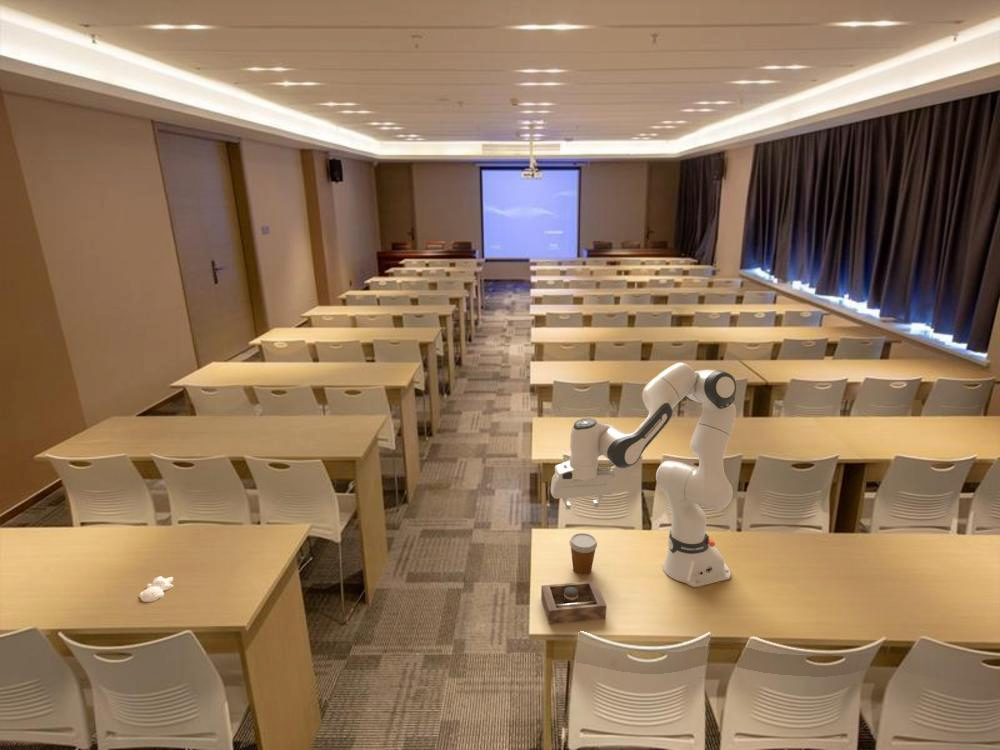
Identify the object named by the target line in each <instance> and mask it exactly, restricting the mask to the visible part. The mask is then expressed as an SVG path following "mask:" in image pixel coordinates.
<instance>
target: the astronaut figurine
mask: <svg viewBox="0 0 1000 750" xmlns="http://www.w3.org/2000/svg"><path fill="white" fill-rule="evenodd" d="M173 581H174V577H173V576H169V577H166V578H165V577H163V576H161V575H160V576H157V577H155V578H153V579H152V582H151V583H148V584H147V585H146V589H144V590H143V591H141V592H140V593H139V594H138V595H139V596H138V597H139V598H140V600H141V601H142V602H145V603H150V602H154V601H157V600H159V599H163V598H164V597H165V593H164V591H167V590H170V589H172V588H174V585H173V584H172V583H173Z"/></svg>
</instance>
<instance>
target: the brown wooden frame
mask: <svg viewBox="0 0 1000 750" xmlns="http://www.w3.org/2000/svg"><path fill="white" fill-rule="evenodd" d="M567 587H574V588H576V589H577V590H578V598H585V597H586V598H587V597H588V598H589V602H590V601H595V602H596V604H593V605H582V606H572V607H561V608H556V605H557V604H556V602H555V600H562V599H563V600H564V589H565V588H567ZM540 594H541V596H540V597H541V598H540V599H541V602H542V606H543V609H544V614H545V617H546V619H547V623H548V625H556V624H566V622H568V623H577V622H587V621H596V620H597V621H598V620H606V617H607V604H606V601H605V599H604V597H603V595H602V592H601V590H600V587H599V585H598V583H597V581H596V580H592V581H589V580H588V581H580V582H579V581H578V582H577V581H576V582H567V583H557V584H556V583H555V584H544V585H541V592H540Z"/></svg>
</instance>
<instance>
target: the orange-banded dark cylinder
mask: <svg viewBox="0 0 1000 750" xmlns="http://www.w3.org/2000/svg"><path fill="white" fill-rule="evenodd" d="M578 599H579V597H578V590H577V589H576V588H574V587H567V588H565V589H564V599H563V604H568V603H579V602H578V601H579V600H578Z"/></svg>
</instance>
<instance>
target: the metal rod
mask: <svg viewBox="0 0 1000 750" xmlns="http://www.w3.org/2000/svg"><path fill="white" fill-rule="evenodd" d="M593 604H596V602H595V601H590V600H589V601H582V602H581V601H580V602H578V603H568V604H564V603H559V604H557V603H556V604H555V605H556V608H561V607H572V606H582V605H593Z"/></svg>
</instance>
